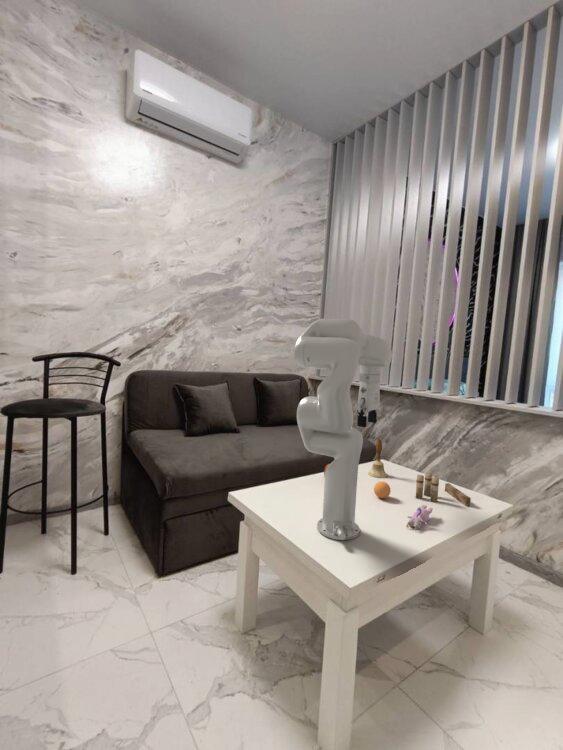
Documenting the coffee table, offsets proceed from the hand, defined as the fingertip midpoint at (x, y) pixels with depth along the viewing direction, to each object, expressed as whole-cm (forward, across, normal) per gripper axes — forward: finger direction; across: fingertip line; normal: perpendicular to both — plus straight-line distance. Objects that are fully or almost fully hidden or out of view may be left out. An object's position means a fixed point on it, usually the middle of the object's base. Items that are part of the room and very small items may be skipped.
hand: (366, 424), depth 131 cm
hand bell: (+28, +26, +4) cm, 38 cm away
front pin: (+27, +12, -17) cm, 34 cm away
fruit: (+27, +5, +15) cm, 32 cm away
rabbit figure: (+27, -8, -23) cm, 37 cm away
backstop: (+27, +22, -29) cm, 45 cm away
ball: (+24, +2, -6) cm, 25 cm away
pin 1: (+27, +17, -19) cm, 37 cm away
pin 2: (+27, +13, -22) cm, 37 cm away
